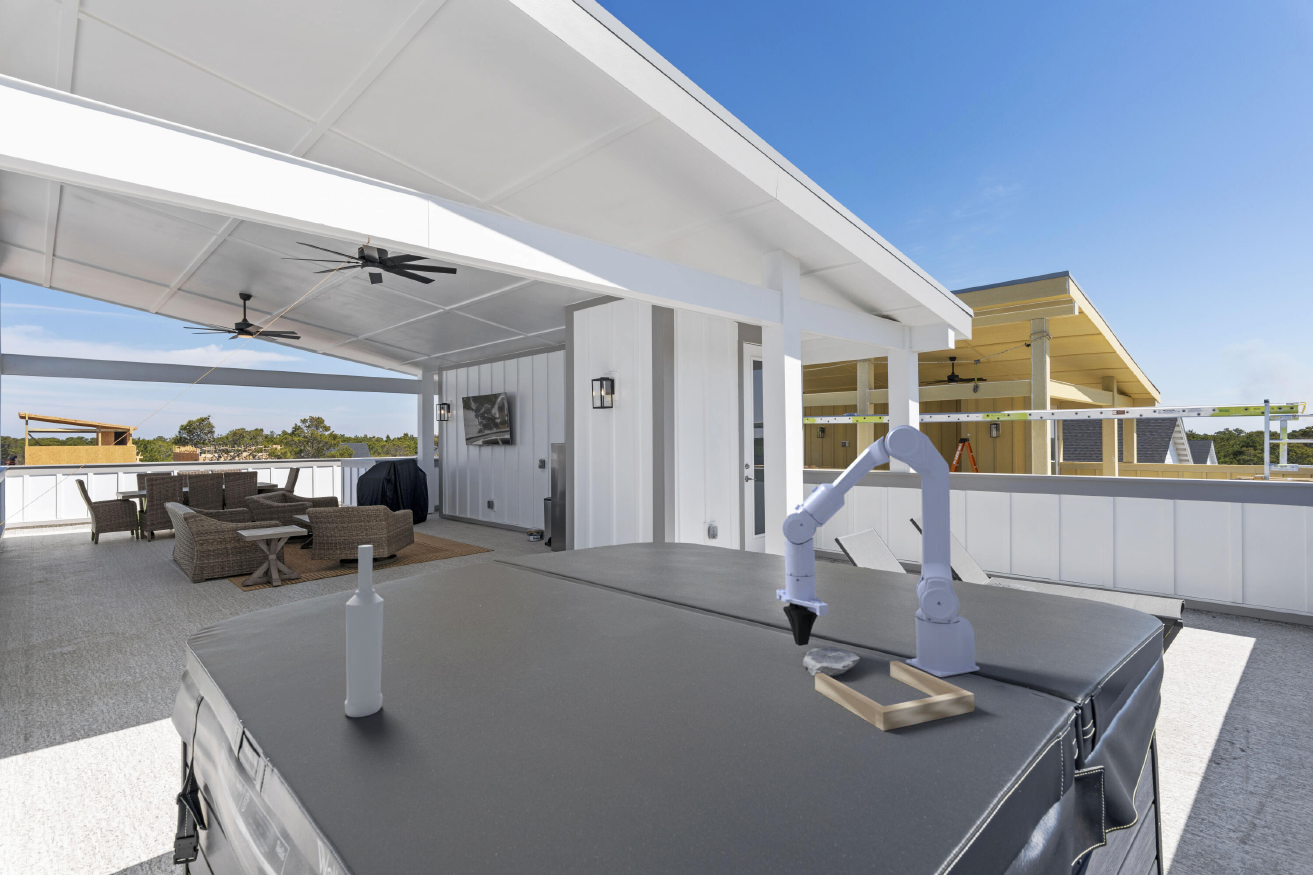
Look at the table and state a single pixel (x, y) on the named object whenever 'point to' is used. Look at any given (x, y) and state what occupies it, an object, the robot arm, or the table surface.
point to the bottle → (364, 642)
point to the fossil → (829, 661)
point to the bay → (939, 706)
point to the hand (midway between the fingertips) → (801, 644)
